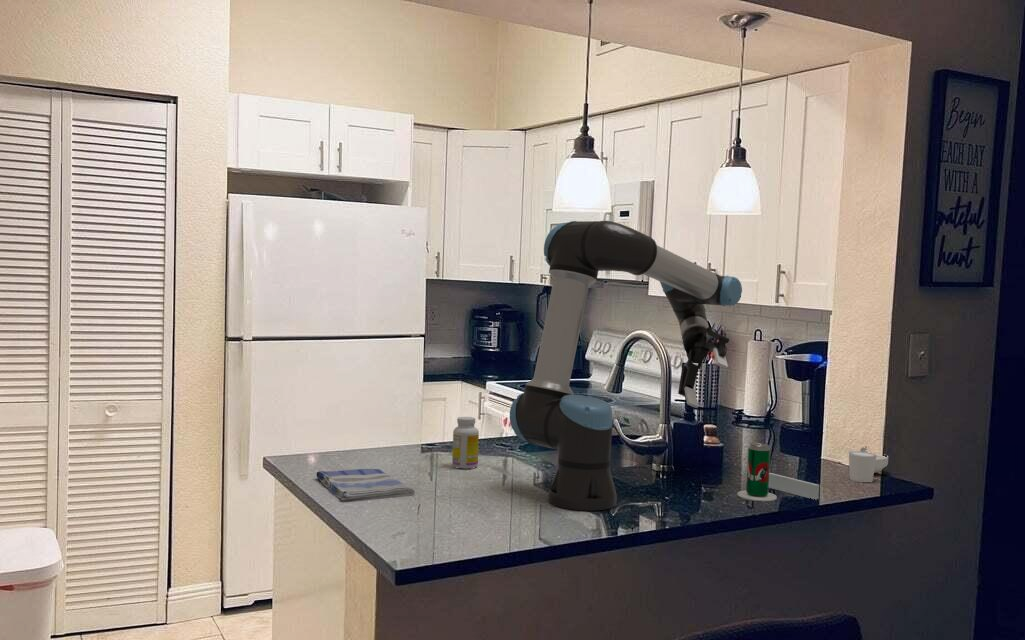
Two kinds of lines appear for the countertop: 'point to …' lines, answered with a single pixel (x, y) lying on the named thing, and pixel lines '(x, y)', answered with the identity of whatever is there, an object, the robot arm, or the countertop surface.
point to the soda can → (758, 470)
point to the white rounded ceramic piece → (880, 460)
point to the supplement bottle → (465, 443)
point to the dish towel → (363, 484)
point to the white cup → (862, 466)
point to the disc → (767, 498)
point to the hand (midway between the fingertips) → (707, 386)
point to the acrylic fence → (794, 486)
